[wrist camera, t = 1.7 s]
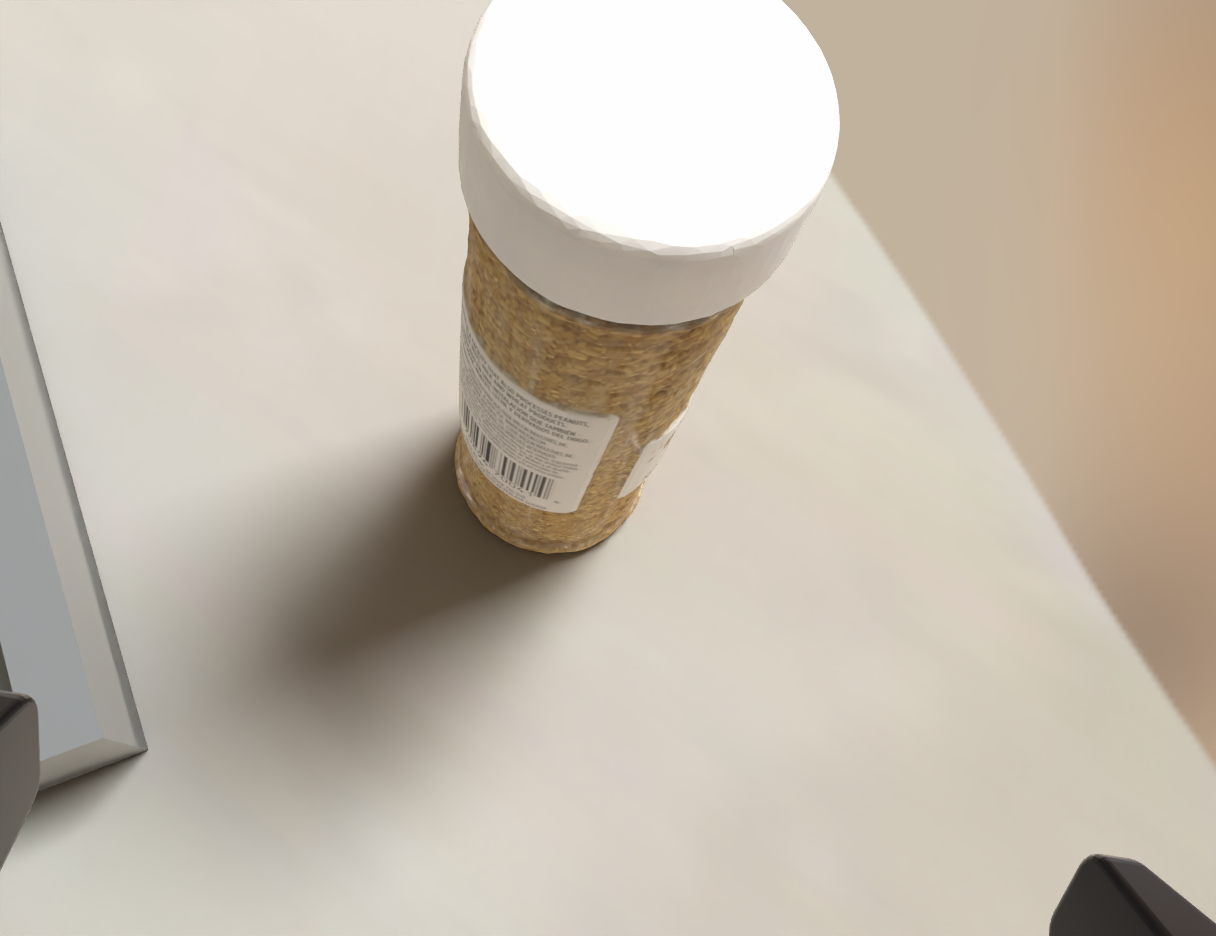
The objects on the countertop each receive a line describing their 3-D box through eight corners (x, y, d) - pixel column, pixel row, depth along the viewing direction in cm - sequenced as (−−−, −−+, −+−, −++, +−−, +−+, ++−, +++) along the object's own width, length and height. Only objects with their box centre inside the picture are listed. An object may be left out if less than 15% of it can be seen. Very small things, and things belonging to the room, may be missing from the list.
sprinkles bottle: (676, 506, 24) (925, 166, 12) (505, 591, 23) (582, 310, 11) (585, 349, 25) (726, -119, 13) (416, 422, 24) (391, -20, 12)
